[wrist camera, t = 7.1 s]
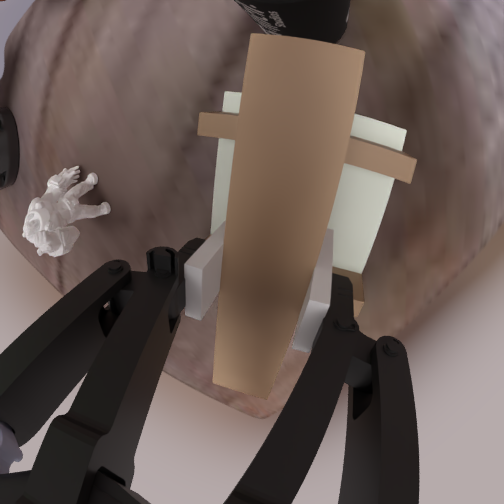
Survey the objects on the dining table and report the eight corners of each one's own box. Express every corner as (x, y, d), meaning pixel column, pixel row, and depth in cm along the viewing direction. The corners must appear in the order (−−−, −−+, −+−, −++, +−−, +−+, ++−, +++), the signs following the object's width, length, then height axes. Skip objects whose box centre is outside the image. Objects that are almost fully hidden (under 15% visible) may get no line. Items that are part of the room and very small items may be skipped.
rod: (238, 327, 23) (212, 382, 18) (281, 61, 12) (251, 33, 7) (284, 340, 22) (267, 399, 17) (352, 75, 12) (365, 51, 7)
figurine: (133, 194, 26) (46, 246, 16) (125, 231, 29) (51, 288, 19) (75, 160, 26) (-5, 194, 16) (71, 195, 29) (0, 234, 19)
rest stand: (212, 258, 27) (190, 287, 23) (229, 92, 19) (202, 87, 15) (349, 295, 25) (349, 331, 21) (403, 129, 17) (423, 134, 13)
